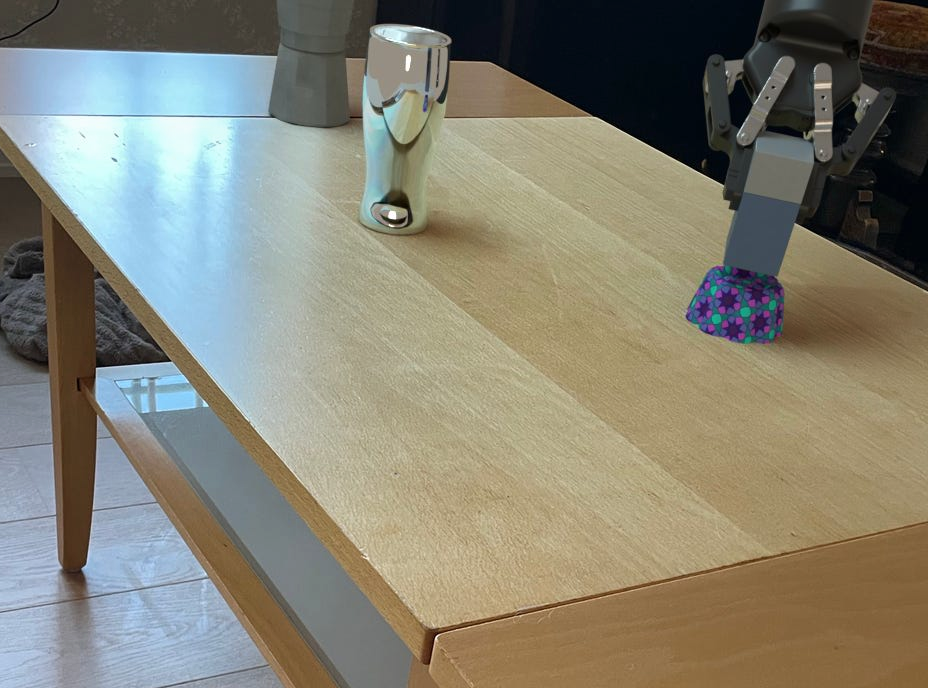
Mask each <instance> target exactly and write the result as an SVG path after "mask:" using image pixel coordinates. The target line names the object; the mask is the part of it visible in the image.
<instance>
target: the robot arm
mask: <svg viewBox="0 0 928 688" xmlns="http://www.w3.org/2000/svg"><path fill="white" fill-rule="evenodd" d="M874 3H875V0H764V3H763V7H762V11H761V15H760V19H759V23H758V27H757V30H756V35H755V38H754V43H753V46H752V47H751V48H750V49H749V50H748V51H747V52H746V53H745V55H744V57H743V58H742V59H734V60H725V58H724V57H723V56H722V55H721V54H719V53H718V54H717V53H714V54H712V55H710V56H709V57H708V59H707V62H706V65H705V70H704V74H703V79H702V90H703V101H704V111H705V119H706V120H705V121H706V130H707V131H706V132H707V141H708V146H709V149H710V150H713V151H715V152H718V151H722V152H724V153H726V154H727V156H728V157H729V165H728V169H727V173H726V177H725V181H724V184H723V189H722V200H723V201H727V202H729V204H728V210H731V211H734V212H735V211H737V210H738V208H739V205H740V202H741V199H742V195H743V192H744V188H745V184H746V180H747V176H748V172H749V168H750V164H751V160H752V156H753V152H754V150H753V147H754V143H755V139H756V136H757V135H758V133H759V131H760V132H762V131H763V130H764V131H766V129H767V127H768V126H773V127H789V128H791V129H793V130H795V131H797V132H802V133H803V139H807V140H808V141H809V142H813V150H814V165H813V168H812V171H811V174H810V177H809V181H808V184H807V187H806V190H805V193H804V196H803V199H802V202H801V205H800V209H799V212H798V215H797V218H796V221H795V224H798V225H803V224H804V222H805V219H806V218H810V219H812V218H813V216H814V215H815V213H816V212H817V209H818V208H819V206H820V204H821V200H822V197H823V192H824V188H825V185H826V180H827V177H828V176H829V175H835V174H836V175H838V176H840V177H845V176H848V175H850V173H851V171H852V170H853V168H854V167H855V165H856V164H857V162H858V161H859V159H860V158H861V157H862V154H863V153H864V152H865V150H866V149H867V147H868V146H869V144H870V143H871V141H872V140H873V138H874V136H875V135H876V133H877V132H878V130H879V129H880V127H881V126H882V125H883V122H885V119H886V118H887V116H888V114H889V112H890V110H891V108H892V106H893V104H894V103H895V100H896V98H897V92H896V90H895V89H894V88H892V87H887V86H886V87H883V88H882V89H880V91H878V90H877V89H875V88H873V87H871V86H869V85H867V84H865V83H863V75H862V71H861V68H860V61H861V55H862V52H863V47H864V43H865V39H866V35H867V31H868V27H869V23H870V19H871V15H872V11H873V7H874ZM739 80H741V82H742V84H743V86H744V88H745V91H746V93H747V95H748V98H749V99H750V101H751V103H752V107H751V108H750V111H749V113H748V115H747V117H746V118H745V120H744V122H743V123H742V126H741V127H740V128H738V127H737V126H736V125H734V124H732V122H731V121H732V119H731V111H730V99H729V95H730V94H731V93H732V92H733V91H734V87H735V84H736V82H737V81H739ZM851 102H853V103H854V104H855V107H856V109H855V112H854V118H855V120H856V123H857V125H856V127H855V129H854V130H853V131H852V133H851V134H850V136H849V137H848V139H847V141H846V142H845V143H844V145H843V146H835V147H833V126H834V116H835V115H837V114H838V113H839V112H840V111H841V110H843V109H844V108H845V107H847V106H848V105H849V104H850V103H851Z"/></svg>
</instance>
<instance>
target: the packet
mask: <svg viewBox="0 0 928 688" xmlns="http://www.w3.org/2000/svg"><path fill="white" fill-rule="evenodd" d="M753 150H754V152H753V156H752V160H751V164H750V168H749V172H748V176H747V180H746V184H745V188H744V192H743V195H742V199H741V202H740V205H739V208H738V210H737V211H735V210H734V212H733V215H732V219H731V221H730V225H729V230H728V233H727V236H726V242H725V247H724V255H723V261H722V266H724V265H725V266H730V267H735V268H739V269H744V270H748V271H753V272H757V273H762V274H767V275H771V276H774V277H775V278H777V277H778V276H779V274H780V270H781V268H782V265H783V261H784V259H785V255H786V252H787V249H788V246H789V243H790V239H791V237H792V233H793V230H794V227H795V224H796V223H795V221H796V218H797V215H798V212H799V209H800V205H801V202H802V199H803V196H804V193H805V190H806V187H807V184H808V181H809V177H810V174H811V171H812V168H813V165H814V150H813V142H809V141H808V140H807V139H804V138H802V137H797V136H792V135H787V134H784V133H777V132H772V131H769V130H765V131H764V130H763V131H762V132H760V131H759V133H758V135H757V136H756V139H755V143H754V147H753Z"/></svg>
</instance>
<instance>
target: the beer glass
mask: <svg viewBox="0 0 928 688" xmlns="http://www.w3.org/2000/svg"><path fill="white" fill-rule="evenodd" d="M368 35H369V36H368V42H367V49H366V56H365V63H364V69H363V80H362V91H361V92H362V93H361V95H362V96H361V112H362V131H363V142H364V143H363V144H364V154H365V155H364V156H365V180H364V188H363V193H362V196H361V201H360V204H359V208H358V212H357V219H358V220H357V221H359V223H360V224H361V225H363V226H364V227H365V228H368V229H370V230H373V231H375V232H378V233H382V234H389V235H396V236H397V235H398V236H399V235H400V236H405V235H406V236H407V235H415V234H419V233H422V232H424V231H425V230H426V229H427V227H428V207H427V205H428V204H427V191H428V181H429V175H430V172H431V167H432V163H433V160H434V156H435V153H436V149H437V146H438V142H439V139H440V135H441V132H442V129H443V124H444V119H445V115H446V109H447V102H448V96H449V85H450V69H451V50H452V49H451V47H452V39H451V37H450V36H448V35H447V34H444V33H442V32H440V31H437V30H434V29H430V28H427V27H422V26H416V25H410V24H399V23H382V24H376V25H373V26H371V27H370V28H369V34H368Z"/></svg>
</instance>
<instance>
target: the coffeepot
mask: <svg viewBox="0 0 928 688" xmlns="http://www.w3.org/2000/svg"><path fill="white" fill-rule="evenodd" d="M354 5H355V0H276V10H277V21H278V22H277V23H278V26H279V27H280V36H279V37H280V39H279V40H280V42H279V45H278V50H277V57H276V63H275V68H274V74H273V79H272V86H271V92H270V97H269V103H268V110H267V112H268V113H269V114H270V115H271V116H272V117H274V118H276V119H278V120H280V121H283V122H286V123H290V124H292V125H298V126H306V127H313V128H314V127H315V128H331V127H338V126H343V125H345V124H347V123H349V122H350V121H351V116H350V115H351V113H350V100H349V99H350V98H349V84H348V71H347V57H346V55H347V54H346V41H347V40H346V39H347V35H348V34H349V32H350V31H349V30H350V26H351V22H352V15H353V10H354Z"/></svg>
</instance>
